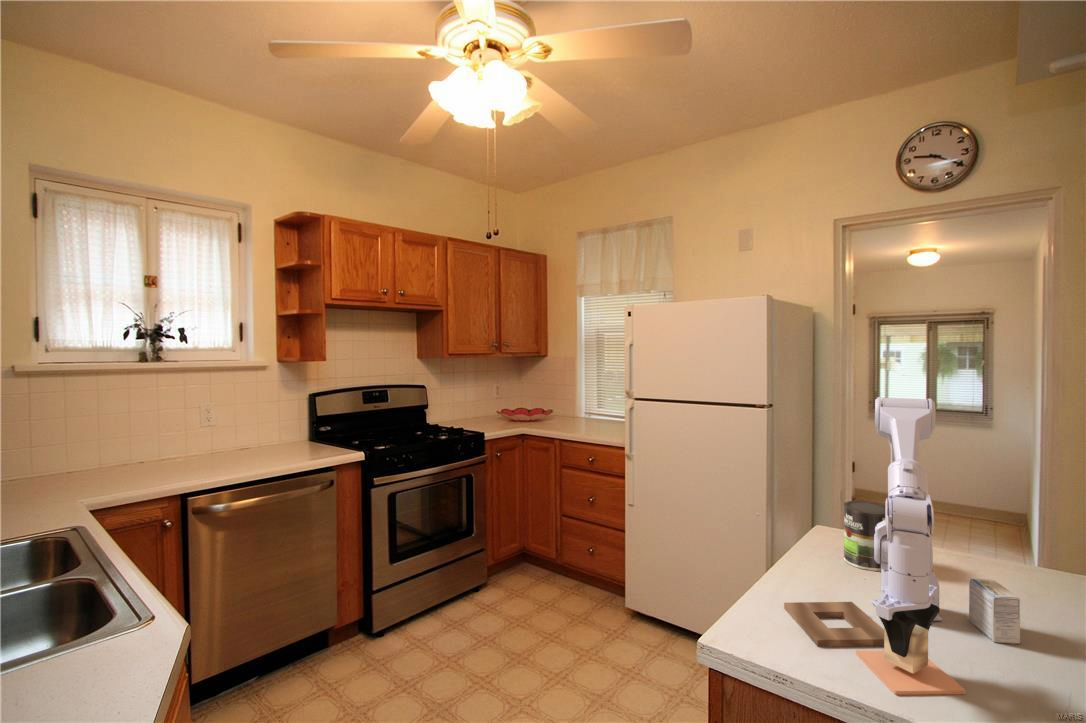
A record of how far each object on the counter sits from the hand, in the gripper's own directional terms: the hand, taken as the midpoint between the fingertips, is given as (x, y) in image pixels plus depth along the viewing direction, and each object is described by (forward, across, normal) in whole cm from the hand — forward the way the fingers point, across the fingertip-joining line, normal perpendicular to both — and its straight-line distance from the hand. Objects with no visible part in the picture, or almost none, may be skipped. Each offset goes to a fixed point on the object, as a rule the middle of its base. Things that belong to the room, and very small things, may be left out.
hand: (907, 649), depth 90 cm
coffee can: (+4, -38, -29) cm, 48 cm away
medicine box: (+4, -27, +1) cm, 27 cm away
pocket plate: (+4, -4, -15) cm, 16 cm away
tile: (+4, 0, 0) cm, 4 cm away
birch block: (+2, 0, 0) cm, 2 cm away
